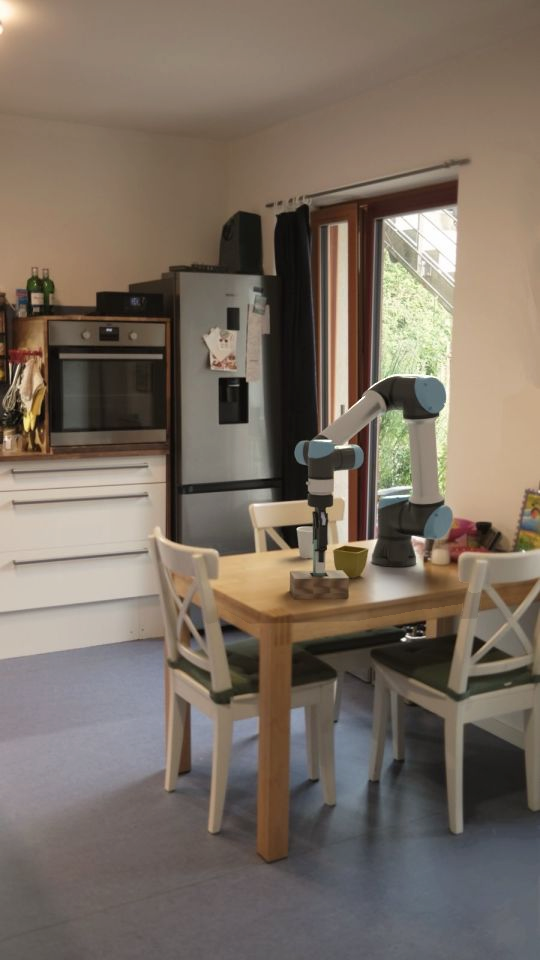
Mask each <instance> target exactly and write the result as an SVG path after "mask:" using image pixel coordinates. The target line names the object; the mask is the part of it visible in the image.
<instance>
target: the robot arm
mask: <svg viewBox="0 0 540 960" xmlns="http://www.w3.org/2000/svg"><path fill="white" fill-rule="evenodd" d="M446 392H447V391H446V388H445V385H444V383H443V382H442V381H441V380H440V379H439V378H438V377H436V376H433V375H426V374H392V375H389V376H387V377H386V378H382V379H381V380H379V381H378V382H376V383H374V384H373V385H371V386H370V387H369V388H368V389H366V390H365V391H364V392H363V394H362V396H361V399H359V400H358V401H357V402H355V404H353V405H352V406H351V407H350V408H348V410H346V411H345V412H344V413H343V414H341V415H340V416H339V417H338V418H337V419H335V420H334V421H333V422H331V423H330V424H329V425H328V426H327V427H326V428H325V429H323V430H322V431H321V432H319V433H318V434H317V435H316V436H315V437H313V438H312V439H311V440H308V439H306V440H301V441H299V442H298V443H296V446H295V449H294V457H295V459H296V462H297V463H298V464H300V465H305V466H307V471H308V472H307V473H308V474H307V479H308V481H306V482H305V484H306V485H307V491H308V492H309V493H308V494H307V506H308V507H311V508H314V510H313V511H312V513H311V515H312V527H313V541H312V543H313V542H314V540H317V549H314V551H315V552H316V573H325V571H326V553H325V551H327V550H328V527H329V525H328V524H329V514H328V512H327V508H331V507H333V506H334V494H333V492H334V488H335V487H334V485H335V477H334V476H335V472H338V471H339V472H340V471H352V470H355V469H359V468H360V467H361V466H362V464H363V463H364V458H365V457H364V455H365V454H364V451H363V449H362V448H361V447H360V445H358V444H352V443H351V444H350V443H348V444H346V443H347V442H348V441H350V440H351V439H352V438H353V437H354V436H356V434H358V433H359V432H360V431H361V430H362V429H364V428H365V427H366V426H367V425H369V423H371V422H372V421H373V420H374V419H375V418H377V417H382V416H384V415H385V414H386V413H389V412H390V411H402V417H403V420H404V421H406V422H407V425H408V439H409V440H408V442H409V453H410V454H409V457H410V471H411V473H410V474H411V488H412V494H401V495H400V494H398V495H396V494H395V495H387V496H382V497H380V498H379V500H378V506H377V539H376V542H375V546H374V548H373V551H372V553H371V562H372V564H375V565H377V566H382V567H392V568H393V567H394V568H400V567H401V568H404V567H410V566H415V565H416V564H417V554H416V551H415V548H414V545H413V541H412V539H413V538H412V537H417V538H422V539H426V540H437V541H439V540H441V539H443V538H445V536H446V535H447V534H448V533H449V531H450V529H451V527H452V525H453V520H454V519H453V518H454V514H453V510H452V509H451V507H449V506H448V505H446V504H445V496H444V495H443V494H442V493H441V492H440V486H439V470H438V469H439V466H438V451H437V450H438V449H437V448H438V447H437V433H436V421H437V419H438V418H439V417H440V413H441V411H443V409H444V408H445V406H446V405H445V404H446V403H447V393H446Z"/></svg>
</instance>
